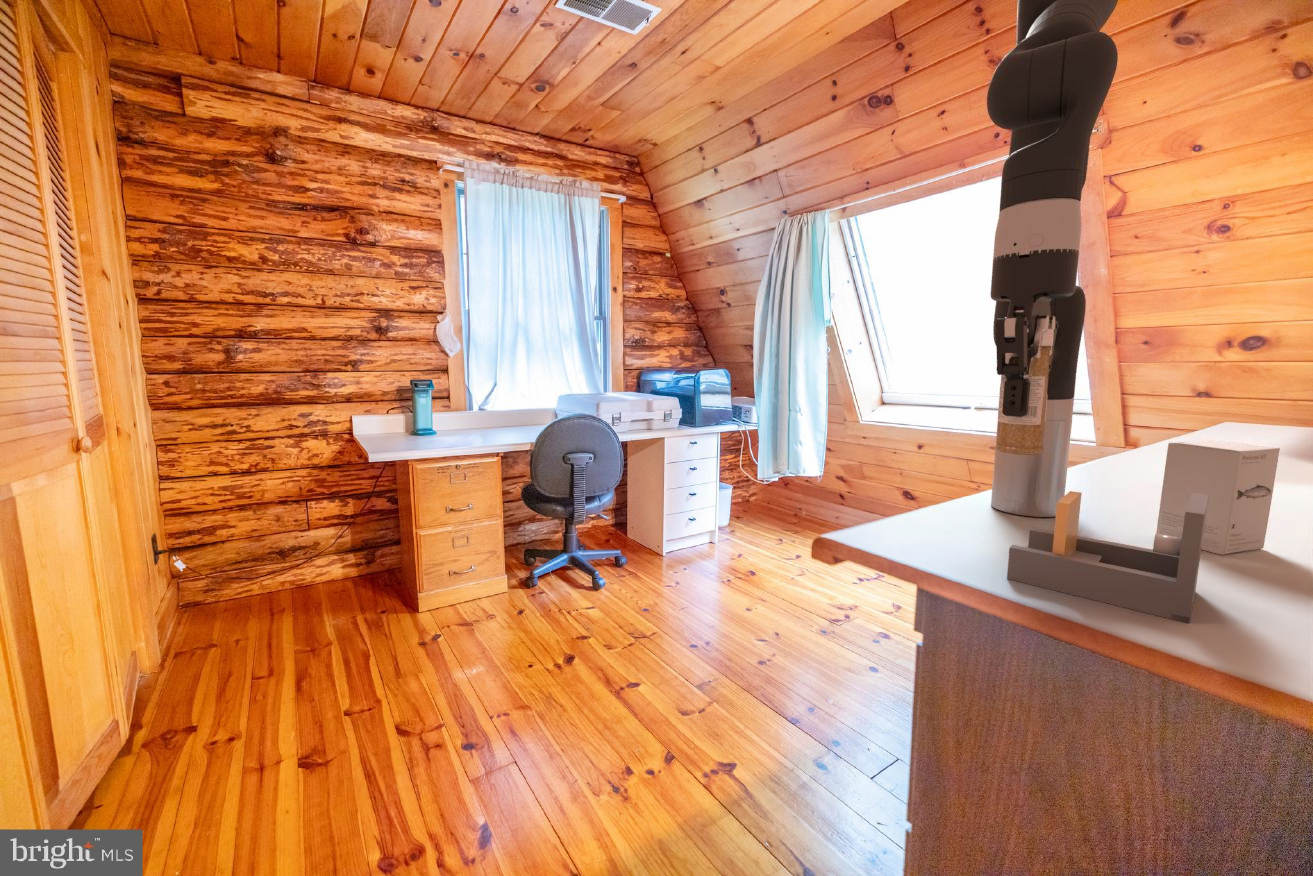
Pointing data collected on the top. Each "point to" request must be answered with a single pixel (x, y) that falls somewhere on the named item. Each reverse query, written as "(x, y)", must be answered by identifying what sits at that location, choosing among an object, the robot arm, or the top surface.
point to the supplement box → (1220, 492)
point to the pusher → (1069, 528)
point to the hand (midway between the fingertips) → (1021, 413)
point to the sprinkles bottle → (1028, 429)
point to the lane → (1121, 568)
